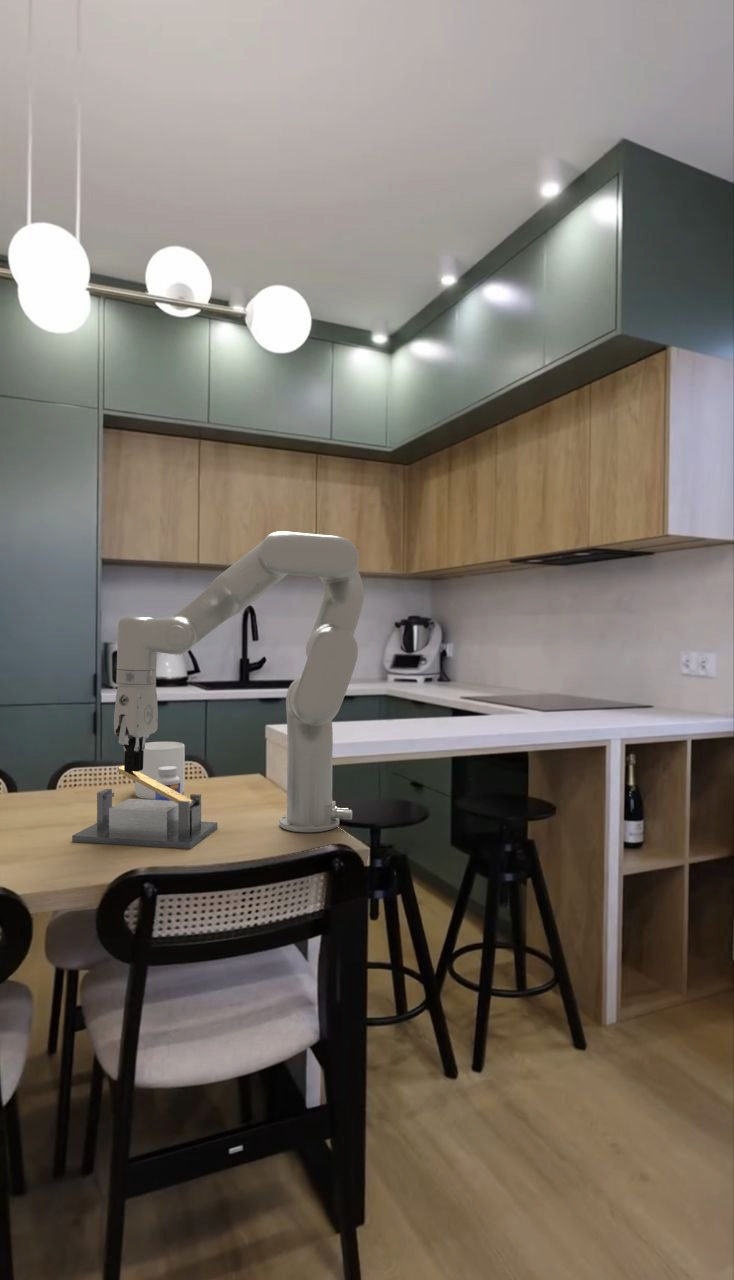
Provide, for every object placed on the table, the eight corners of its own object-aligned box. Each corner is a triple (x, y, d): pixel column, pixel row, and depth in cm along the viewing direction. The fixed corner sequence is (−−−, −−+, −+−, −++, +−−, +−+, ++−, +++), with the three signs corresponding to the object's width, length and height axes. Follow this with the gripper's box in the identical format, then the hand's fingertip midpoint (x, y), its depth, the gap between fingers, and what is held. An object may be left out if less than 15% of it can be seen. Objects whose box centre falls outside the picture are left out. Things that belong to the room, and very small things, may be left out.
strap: (195, 805, 143) (196, 801, 143) (187, 810, 140) (188, 806, 139) (125, 768, 146) (127, 764, 146) (115, 772, 142) (117, 768, 142)
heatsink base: (217, 828, 148) (217, 787, 148) (190, 849, 134) (190, 804, 134) (109, 822, 152) (109, 782, 152) (72, 841, 138) (72, 798, 138)
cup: (145, 787, 184) (145, 741, 184) (190, 788, 183) (190, 741, 183) (128, 798, 172) (128, 749, 172) (176, 799, 172) (176, 749, 171)
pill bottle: (173, 814, 158) (173, 770, 158) (150, 813, 159) (150, 769, 159) (184, 808, 164) (184, 766, 163) (162, 807, 165) (162, 764, 165)
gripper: (135, 682, 135) (133, 779, 135) (170, 677, 149) (167, 764, 150) (99, 680, 136) (96, 776, 136) (136, 675, 151) (134, 762, 151)
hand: (133, 770), depth 143 cm, fingers closed
